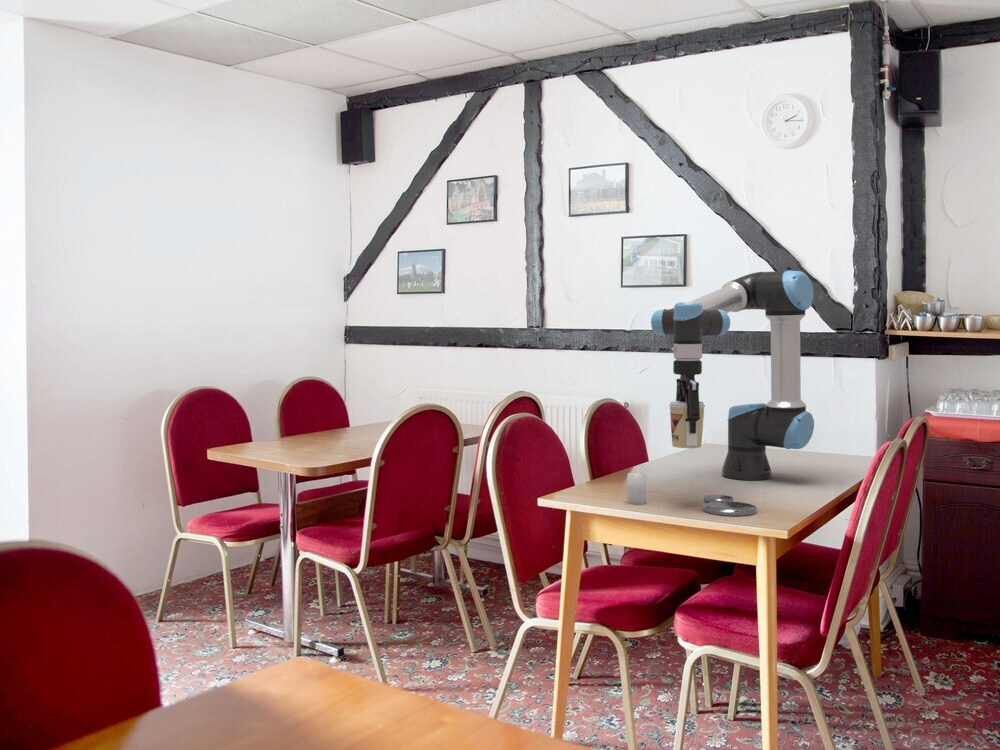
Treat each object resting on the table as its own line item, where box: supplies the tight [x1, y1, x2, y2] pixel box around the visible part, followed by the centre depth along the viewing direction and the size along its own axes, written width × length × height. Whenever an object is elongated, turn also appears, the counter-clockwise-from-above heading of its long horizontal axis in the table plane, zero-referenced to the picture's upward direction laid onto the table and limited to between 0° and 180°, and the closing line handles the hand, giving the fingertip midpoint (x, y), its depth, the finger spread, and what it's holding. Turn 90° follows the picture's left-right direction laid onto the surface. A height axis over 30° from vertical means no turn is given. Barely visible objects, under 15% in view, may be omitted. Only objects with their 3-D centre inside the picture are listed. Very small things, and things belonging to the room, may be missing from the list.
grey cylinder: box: [627, 471, 647, 505], centre depth 256 cm, size 5×5×8 cm
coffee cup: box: [669, 400, 705, 449], centre depth 250 cm, size 9×9×12 cm
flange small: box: [703, 494, 734, 503], centre depth 257 cm, size 8×8×1 cm
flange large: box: [702, 501, 758, 517], centre depth 245 cm, size 14×14×1 cm
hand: (687, 442), depth 250 cm, fingers closed on coffee cup, 9 cm apart
